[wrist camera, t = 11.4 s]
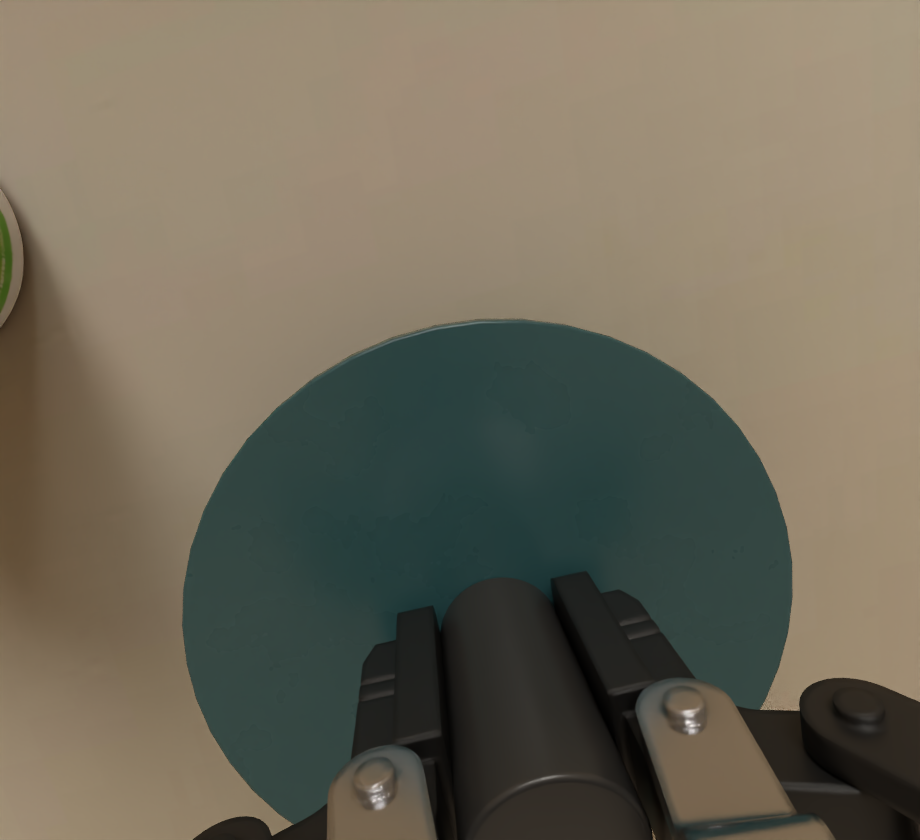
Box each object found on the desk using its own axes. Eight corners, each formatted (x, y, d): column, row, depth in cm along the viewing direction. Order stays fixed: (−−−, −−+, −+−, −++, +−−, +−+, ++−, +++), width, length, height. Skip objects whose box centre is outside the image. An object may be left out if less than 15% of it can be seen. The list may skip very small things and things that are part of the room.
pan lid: (118, 389, 12) (-190, 497, 6) (736, 258, 12) (1057, 232, 6) (288, 888, 14) (203, 1309, 8) (783, 768, 15) (1033, 1090, 9)
